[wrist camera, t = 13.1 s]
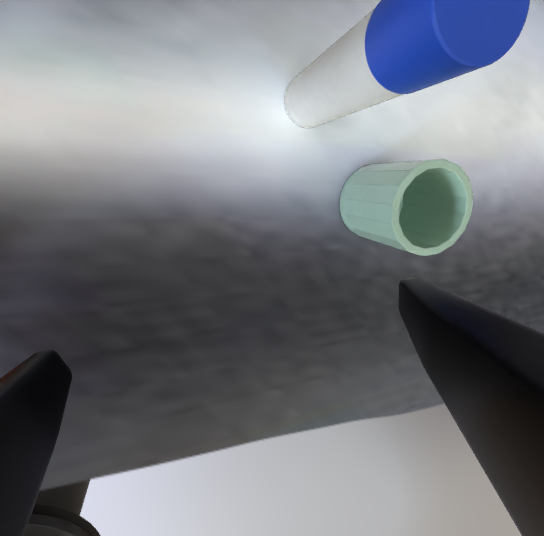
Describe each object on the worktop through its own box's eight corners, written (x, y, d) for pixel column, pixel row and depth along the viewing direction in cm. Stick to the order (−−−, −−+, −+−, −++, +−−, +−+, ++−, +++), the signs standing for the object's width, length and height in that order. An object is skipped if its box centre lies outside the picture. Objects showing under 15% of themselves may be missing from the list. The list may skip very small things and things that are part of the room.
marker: (328, 132, 19) (514, 76, 9) (280, 125, 19) (420, 53, 8) (335, 77, 19) (546, -58, 8) (286, 67, 18) (447, -98, 7)
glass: (388, 244, 22) (451, 264, 17) (329, 226, 21) (378, 242, 16) (413, 177, 22) (486, 177, 16) (353, 153, 20) (413, 145, 15)
